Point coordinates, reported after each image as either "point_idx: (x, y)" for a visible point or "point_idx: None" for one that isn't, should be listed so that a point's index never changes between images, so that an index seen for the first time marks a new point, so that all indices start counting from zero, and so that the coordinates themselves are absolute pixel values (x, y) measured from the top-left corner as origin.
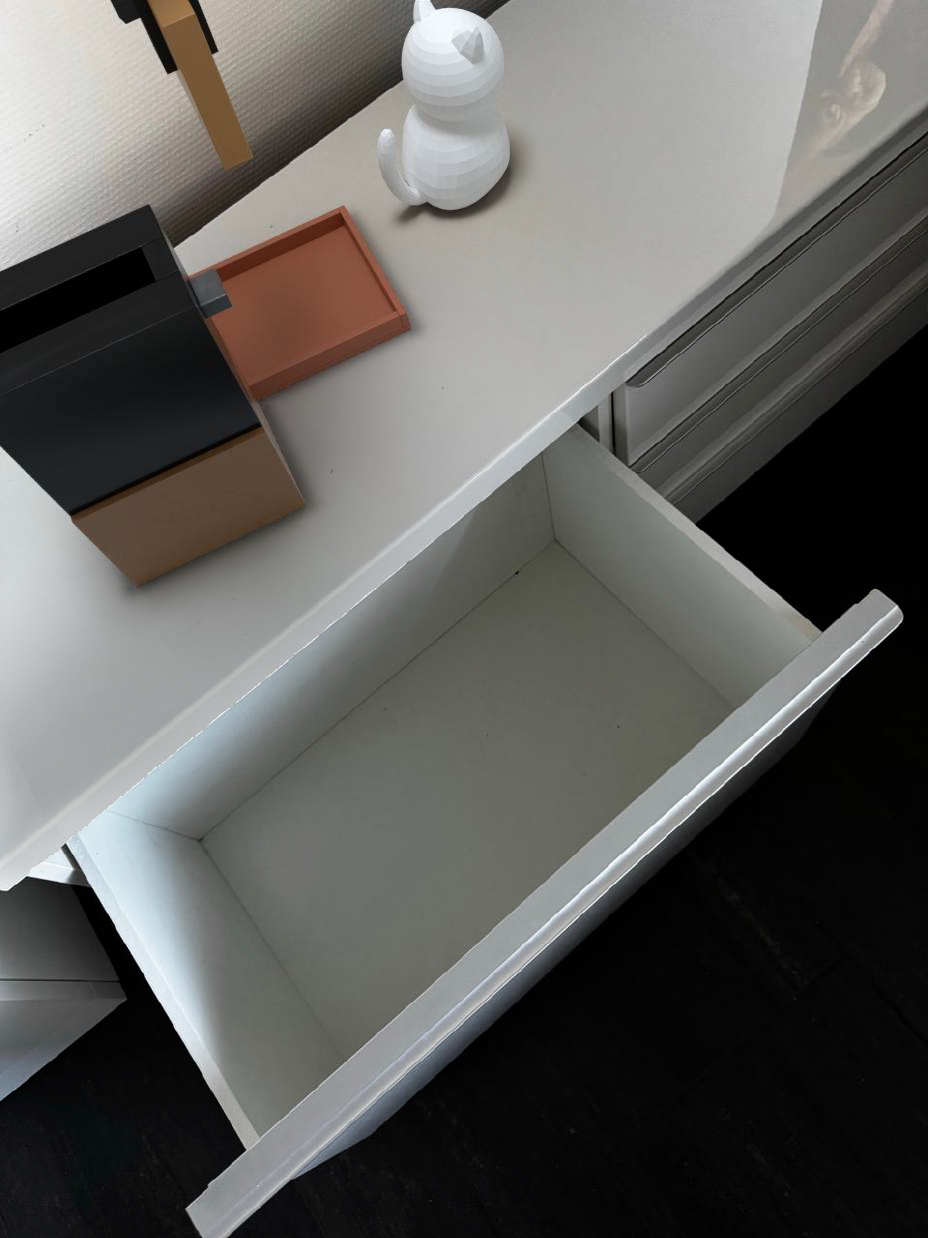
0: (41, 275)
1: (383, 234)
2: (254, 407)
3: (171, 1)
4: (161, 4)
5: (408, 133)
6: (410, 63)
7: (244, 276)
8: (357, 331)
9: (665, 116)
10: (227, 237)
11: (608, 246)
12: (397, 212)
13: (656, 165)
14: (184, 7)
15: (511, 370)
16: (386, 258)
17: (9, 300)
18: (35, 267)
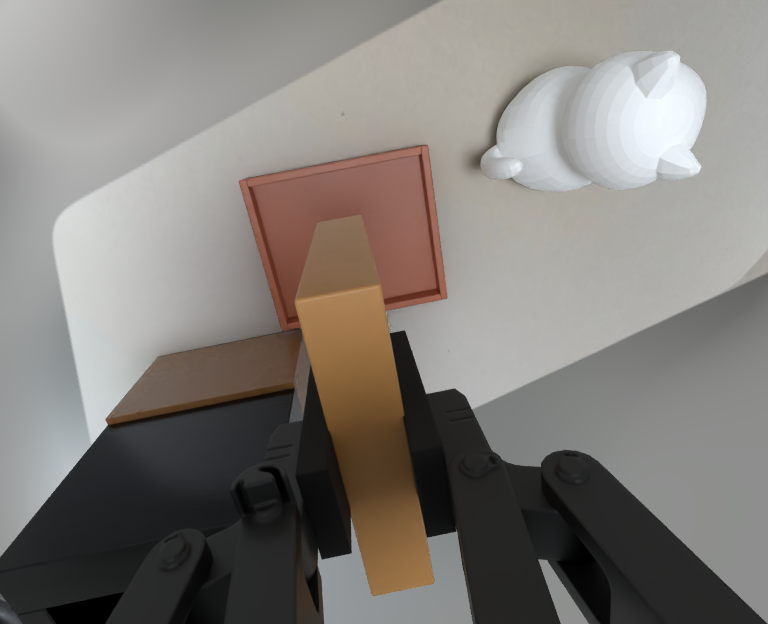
0: (134, 572)
1: (450, 174)
2: None
3: (399, 552)
4: (380, 554)
5: (531, 131)
6: (594, 138)
7: (306, 181)
8: (402, 304)
9: (741, 133)
10: (292, 108)
11: (619, 264)
12: (471, 150)
13: (699, 192)
14: (419, 572)
15: (501, 351)
16: (444, 205)
17: (95, 591)
18: (124, 562)
